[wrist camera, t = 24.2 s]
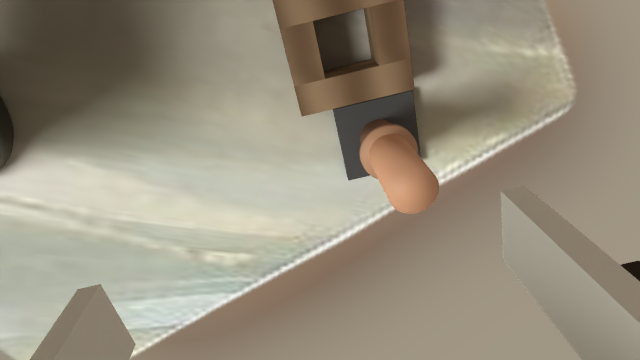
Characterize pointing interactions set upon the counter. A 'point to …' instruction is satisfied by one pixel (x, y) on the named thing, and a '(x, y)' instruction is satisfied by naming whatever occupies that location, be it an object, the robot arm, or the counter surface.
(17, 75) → the counter surface
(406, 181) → the peg
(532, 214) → the robot arm
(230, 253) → the counter surface
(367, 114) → the mat
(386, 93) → the socket block
